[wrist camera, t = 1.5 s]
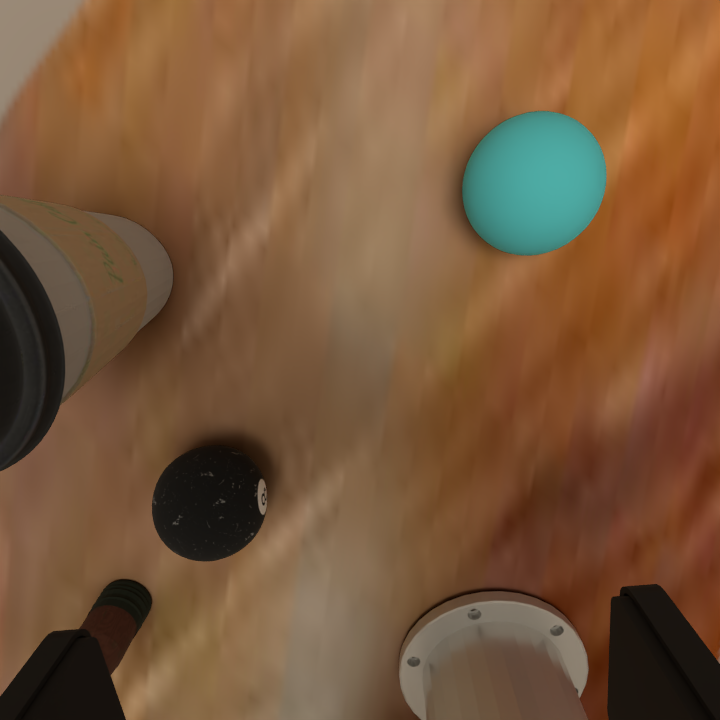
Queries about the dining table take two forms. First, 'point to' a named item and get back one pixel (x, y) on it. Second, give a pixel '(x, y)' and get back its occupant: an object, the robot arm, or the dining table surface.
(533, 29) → the dining table surface
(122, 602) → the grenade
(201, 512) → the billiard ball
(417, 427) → the dining table surface
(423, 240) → the dining table surface
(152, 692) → the dining table surface
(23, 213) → the coffee cup
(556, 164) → the ball
